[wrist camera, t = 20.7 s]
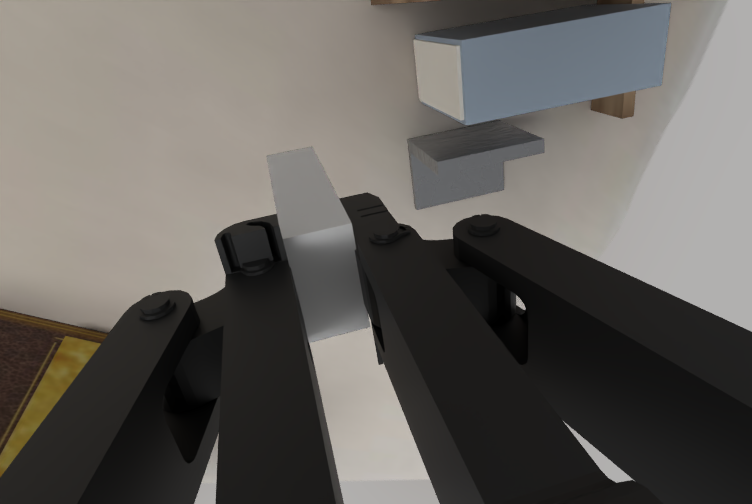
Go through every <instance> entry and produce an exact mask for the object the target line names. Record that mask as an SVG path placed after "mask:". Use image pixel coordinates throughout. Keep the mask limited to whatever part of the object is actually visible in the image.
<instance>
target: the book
mask: <svg viewBox="0 0 752 504" xmlns="http://www.w3.org/2000/svg"><path fill="white" fill-rule="evenodd" d="M107 335H108V333H104V332H99V331H95V330H91V329H86V328H82V327H78V326H73V325H69V324H65V323H60V322H56V321H52V320H47V319H43V318H39V317H34V316H30V315H26V314H21V313H17V312H13V311H8V310H4V309H0V477H1V476H2V474H3V473H4V472H5V470H6V469H7V468H8V466H9V465H10V464H11V462H12V461H13V460H14V458H15V457H16V456H17V455H18V453H19V452H20V451H21V449H22V448H23V447H24V445H25V444H26V443H27V441H28V440H29V439H30V437H31V436H32V435H33V433H34V432H35V431H36V429H37V428H38V427H39V425H40V424H41V423H42V421H43V420H44V419H45V417H46V416H47V415H48V413H49V412H50V411H51V410H52V408H53V407H54V406H55V404H56V403H57V402H58V400H59V399H60V398H61V396H62V395H63V394H64V392H65V391H66V390H67V388H68V387H69V386H70V384H71V383H72V382H73V380H74V379H75V378H76V376H77V375H78V374H79V372H80V371H81V370H82V368H83V367H84V366H85V364H86V363H87V362H88V361H89V359H90V358H91V357H92V355H93V354H94V353H95V351H96V350H97V349H98V347H99V346H100V345H101V343H102V342H103V341H104V339H105V338H106V337H107Z"/></svg>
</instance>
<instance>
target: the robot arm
mask: <svg viewBox="0 0 752 504" xmlns="http://www.w3.org/2000/svg"><path fill="white" fill-rule="evenodd" d="M267 162H268V167H269V173H270V178H271V184H272V189H273V195H274V201H275V206H276V212H277V214H274V215H270V216H265V217H261V218H256V219H252V220H247V221H243V222H240V223H237V224H234V225H232V226H230V227H228V228H225V229H224V230H223V231H221V232H220V233H219V234H217V236H216V238H215V243H216V246H217V249H218V252H219V255H220V259H221V262H222V265H223V268H224V271H225V274H226V282H225V287H224V288H223V289H222V290H220V291H219V292H217V293H215V294H213V295H211V296H209V297H207V298H205V299H203V300H200V301H198V302H195V303H193V300H192V298H191V296H190V295H189V293H187V292H184V291H181V290H174V291H165V292H157V293H154V294H152V295H151V296H150V295H148V296H146V297H144V298H143V299H142V300H140V301H139V302H137V303H135V304H134V305H132V306H131V307H130V308H129V309H128V310H127V311H126V312H125V313H124V314H123V315H122V317H121V318H120V319H119V321H118V322H117V323H116V325H115V326H114V327H113V329H112V330H111V331H110V333H109V334H108V335H107V337H106V338H105V339H104V341H103V342H102V343H101V345H100V346H99V347H98V349H97V350H96V351H95V353H94V354H93V355H92V357H91V358H90V359H89V361H88V362H87V363H86V364H85V366H84V367H83V368H82V370H81V371H80V372H79V374H78V375H77V376H76V378H75V379H74V380H73V382H72V383H71V384H70V386H69V387H68V388H67V390H66V391H65V392H64V394H63V395H62V396H61V398H60V399H59V400H58V402H57V403H56V404H55V406H54V407H53V408H52V410H51V411H50V412H49V413H48V415H47V416H46V417H45V419H44V420H43V421H42V423H41V424H40V425H39V427H38V428H37V429H36V431H35V432H34V433H33V435H32V436H31V437H30V439H29V440H28V441H27V443H26V444H25V445H24V447H23V448H22V449H21V451H20V452H19V453H18V455H17V456H16V457H15V458H14V460H13V461H12V462H11V464H10V465H9V466H8V468H7V469H6V470H5V472H4V473H3V474H2V476H1V477H0V504H194V502H195V499H196V496H197V493H198V490H199V488H200V485H201V482H202V479H203V476H204V473H205V470H206V467H207V464H208V461H209V459H210V456H211V453H212V450H213V447H214V444H215V441H216V438H217V435H218V432H219V440H218V463H217V486H216V504H344V503H343V498H342V493H341V489H340V484H339V479H338V474H337V470H336V465H335V460H334V455H333V451H332V446H331V441H330V437H329V432H328V427H327V423H326V418H325V413H324V408H323V404H322V399H321V394H320V390H319V385H318V380H317V376H316V371H315V366H314V361H313V357H312V353H311V349H310V345H309V343H311V342H315V341H319V340H322V339H326V338H330V337H334V336H338V335H341V334H345V333H349V332H353V331H357V330H360V329H364V328H368V327H370V323H369V318H368V314H369V317H370V319H371V323H372V329H373V335H374V341H375V346H376V352H377V358H378V363H379V365H380V364H383V362H384V365H385V367H386V370H387V372H388V375H389V377H390V380H391V382H392V385H393V387H394V390H395V392H396V395H397V397H398V400H399V402H400V405H401V407H402V410H403V412H404V415H405V417H406V420H407V422H408V425H409V427H410V430H411V432H412V435H413V437H414V440H415V443H416V445H417V448H418V450H419V453H420V455H421V458H422V460H423V463H424V465H425V468H426V470H427V473H428V475H429V478H430V480H431V483H432V485H433V488H434V490H435V493H436V495H437V498H438V500H439V503H440V504H752V332H751V331H749V330H746V329H744V328H742V327H740V326H738V325H736V324H734V323H731V322H729V321H727V320H725V319H723V318H721V317H719V316H716V315H714V314H712V313H710V312H708V311H706V310H703V309H701V308H699V307H697V306H695V305H693V304H690V303H688V302H686V301H684V300H682V299H680V298H677V297H675V296H673V295H671V294H669V293H667V292H664V291H662V290H660V289H658V288H656V287H654V286H652V285H649V284H647V283H645V282H643V281H641V280H639V279H636V278H634V277H632V276H630V275H628V274H626V273H623V272H621V271H619V270H617V269H615V268H613V267H610V266H608V265H606V264H604V263H602V262H600V261H597V260H595V259H593V258H591V257H589V256H587V255H585V254H582V253H580V252H578V251H576V250H574V249H572V248H569V247H567V246H565V245H563V244H561V243H559V242H556V241H554V240H552V239H550V238H548V237H546V236H543V235H541V234H539V233H537V232H535V231H533V230H530V229H528V228H526V227H524V226H522V225H520V224H518V223H515V222H513V221H511V220H509V219H506V218H503V217H500V216H491V215H488V214H481V216H480V215H474V216H472V217H470V218H466V219H463V220H461V221H459V222H458V223H456V224H455V226H454V227H453V239H448V240H423V239H422V238H421V237H420V236H419V234H418V233H417V232H416V230H415V229H413V228H412V227H410V226H408V225H404V224H398V223H397V222H396V221H395V219H394V218H393V216H392V215H391V214H390V212H389V211H388V210H387V208H386V207H385V205H384V204H383V203H382V201H381V200H380V198H379V197H377V196H374V195H372V194H369V193H363V194H358V195H354V196H349V197H345V198H340V199H339V198H338V196H337V194H336V192H335V190H334V188H333V186H332V184H331V182H330V180H329V178H328V176H327V174H326V172H325V170H324V168H323V166H322V165H321V163H320V161H319V159H318V157H317V155H316V153H315V151H314V149H313V147H307V148H302V149H297V150H292V151H288V152H283V153H278V154H273V155H268V156H267ZM516 295H517V296H518V297H519V298H520V299H521V300H522V302H523V303H524V305H525V307H526V311H525V310H523V309H521V308H520V307H518V306H517V305H516ZM562 420H563V421H564V422H565V423H567V424H568V425H569V426H570V427H571V428H572V429H574V430H575V431H576V432H577V433H578V434H580V435H581V436H582V437H583V438H584V439H586V440H587V441H588V442H589V443H590V444H592V445H593V446H594V447H595V448H596V449H598V450H599V451H600V452H601V453H602V454H604V455H605V456H606V457H607V458H608V459H610V460H611V461H612V462H613V463H614V464H615V465H617V466H618V467H619V468H620V469H621V470H623V471H624V472H625V473H626V474H627V475H629V476H630V477H631V478H632V479H633V480H635V481H636V482H635V481H633V480H631V481H625V482H619V483H616V482H614V481H612V480H610V479H609V478H608V477H607V476H606V475H605V474H604V473H603V472H602V471H601V470H600V469H599V467H598V466H597V465H596V463H595V462H594V461H593V459H592V458H591V457H590V456H589V455H588V453H587V452H586V450H585V449H584V448H583V447H582V445H581V444H580V443H579V442H578V440H577V439H576V437H575V436H574V435H573V434H572V432H571V431H570V430H569V428H568V427H567V426H566V425H565V423H564V422H563V421H562Z"/></svg>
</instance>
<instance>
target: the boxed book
mask: <svg viewBox="0 0 752 504" xmlns="http://www.w3.org/2000/svg"><path fill="white" fill-rule="evenodd" d="M670 9H671V3H644V4H602V5H582V6H576V7H570V8H565V9H559V10H553V11H547V12H542V13H536V14H530V15H524V16H519V17H513V18H507V19H501V20H496V21H490V22H484V23H479V24H473V25H467V26H461V27H456V28H450V29H444V30H438V31H433V32H427V33H421V34H416V35H415V39H414V40H413V43H414V53H415V64H416V74H417V84H418V94H419V100H420V101H422V104H424V105H426V106H428V107H430V108H432V109H434V110H436V111H438V112H440V113H442V114H444V115H446V116H448V117H450V118H452V119H454V120H456V121H458V122H460V123H462V124H464V125H466V126H467V125H471V124H476V123H481V122H486V121H491V120H496V119H501V118H505V117H510V116H515V115H520V114H525V113H530V112H534V111H539V110H544V109H549V108H554V107H559V106H564V105H568V104H573V103H578V102H583V101H588V100H593V99H598V98H602V97H607V96H612V95H617V94H622V93H627V92H631V91H636V90H641V89H646V88H651V87H656V86H661V85H662V76H663V68H664V60H665V51H666V43H667V34H668V26H669V17H670Z"/></svg>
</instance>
